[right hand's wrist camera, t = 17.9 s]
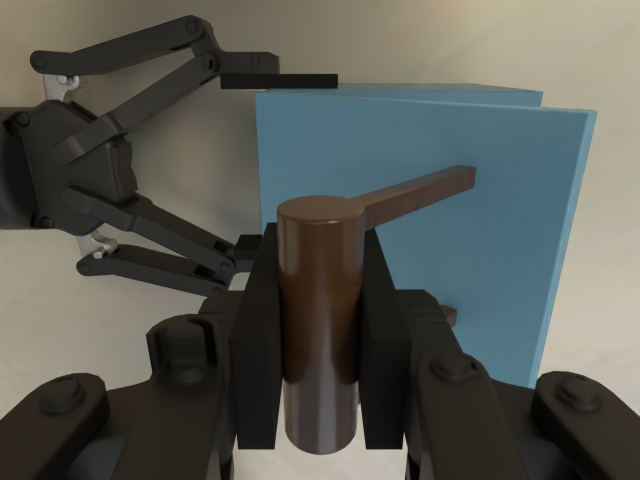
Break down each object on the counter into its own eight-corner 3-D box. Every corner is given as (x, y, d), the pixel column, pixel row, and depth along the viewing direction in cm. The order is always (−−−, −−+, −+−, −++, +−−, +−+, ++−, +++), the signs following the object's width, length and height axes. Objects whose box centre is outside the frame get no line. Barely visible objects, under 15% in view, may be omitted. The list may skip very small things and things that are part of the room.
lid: (598, 110, 12) (433, 151, 6) (534, 391, 16) (392, 585, 10) (268, 91, 21) (76, 100, 15) (275, 271, 25) (122, 333, 19)
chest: (474, 83, 31) (543, 91, 21) (458, 213, 35) (511, 270, 25) (281, 83, 31) (262, 91, 21) (285, 212, 35) (270, 269, 25)
